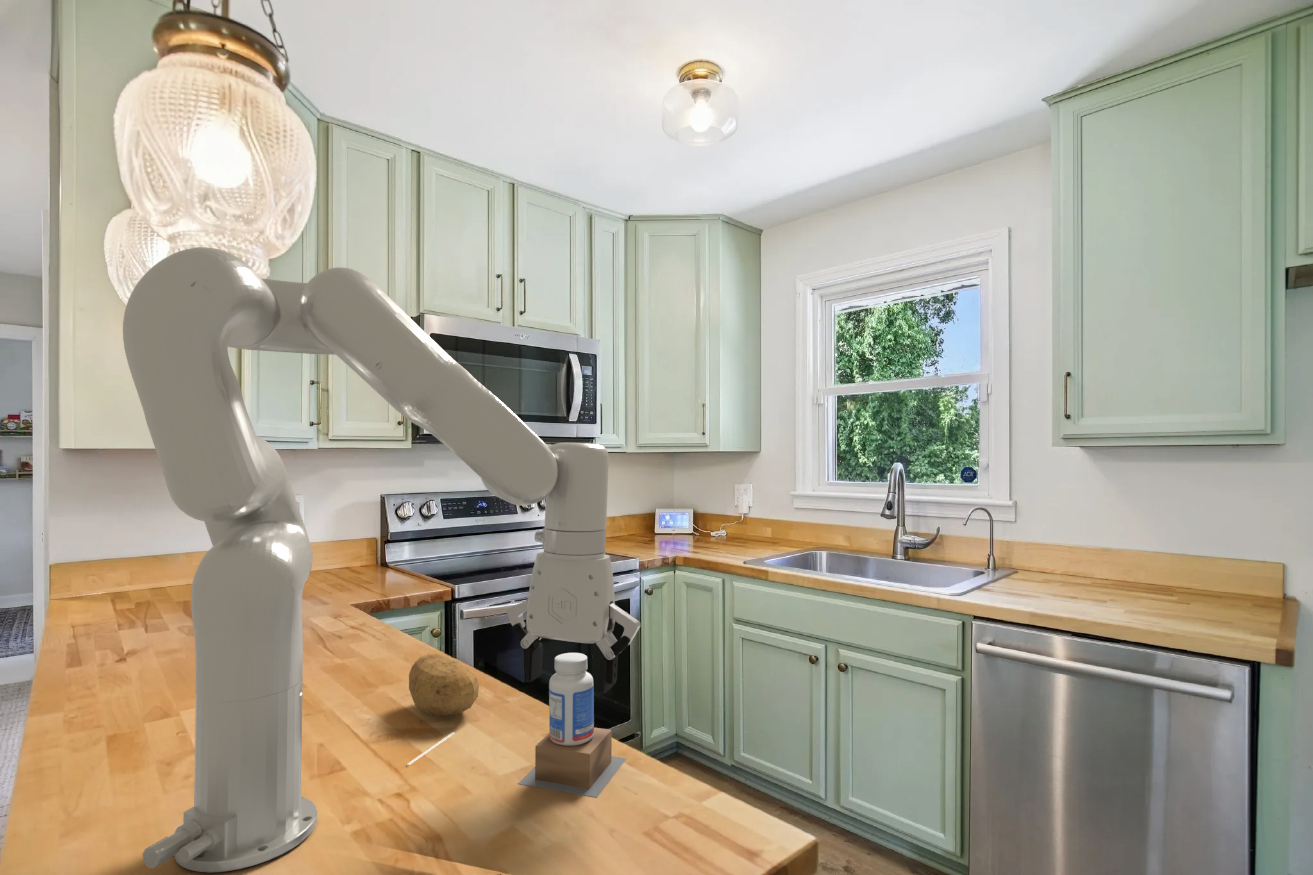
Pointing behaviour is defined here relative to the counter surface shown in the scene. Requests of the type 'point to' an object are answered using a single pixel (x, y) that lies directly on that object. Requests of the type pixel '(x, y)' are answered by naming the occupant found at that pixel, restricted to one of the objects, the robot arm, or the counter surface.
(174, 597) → the counter surface
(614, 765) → the baseplate
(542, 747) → the brown square block
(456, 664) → the potato
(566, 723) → the pill bottle
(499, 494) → the robot arm
